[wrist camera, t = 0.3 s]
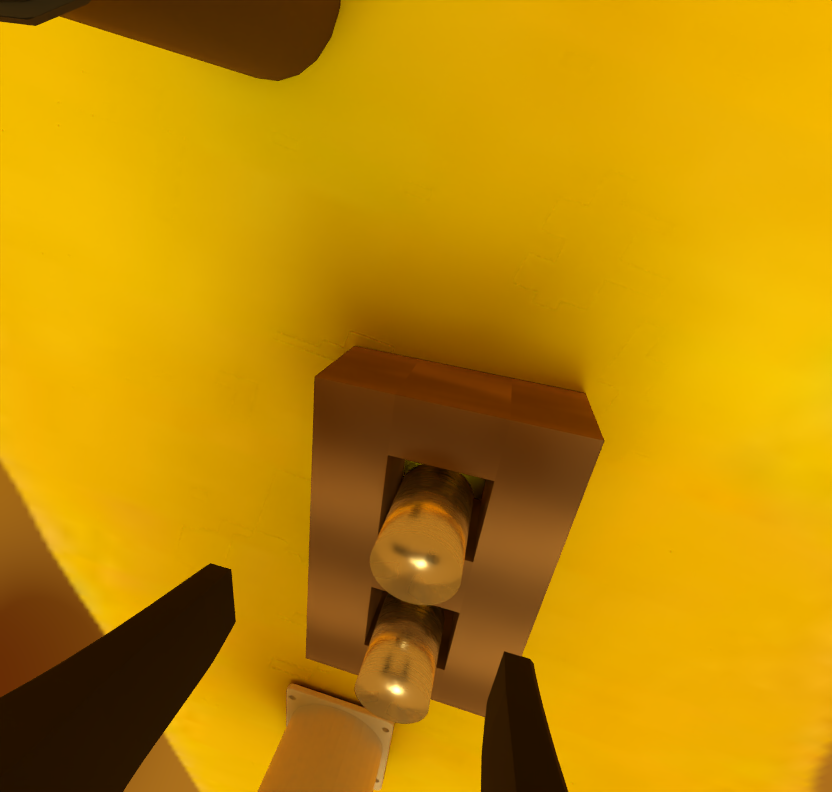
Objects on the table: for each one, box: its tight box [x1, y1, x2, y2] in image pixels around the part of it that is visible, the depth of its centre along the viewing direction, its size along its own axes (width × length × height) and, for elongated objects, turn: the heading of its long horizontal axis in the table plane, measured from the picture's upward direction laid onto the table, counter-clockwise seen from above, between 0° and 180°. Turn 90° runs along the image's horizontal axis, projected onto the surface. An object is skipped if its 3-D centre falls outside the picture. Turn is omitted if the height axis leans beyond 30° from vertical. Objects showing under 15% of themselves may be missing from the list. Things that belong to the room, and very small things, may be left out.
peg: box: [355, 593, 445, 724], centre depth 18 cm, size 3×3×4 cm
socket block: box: [306, 346, 604, 717], centre depth 19 cm, size 16×10×4 cm, turn 172°
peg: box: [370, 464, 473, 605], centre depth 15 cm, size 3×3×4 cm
